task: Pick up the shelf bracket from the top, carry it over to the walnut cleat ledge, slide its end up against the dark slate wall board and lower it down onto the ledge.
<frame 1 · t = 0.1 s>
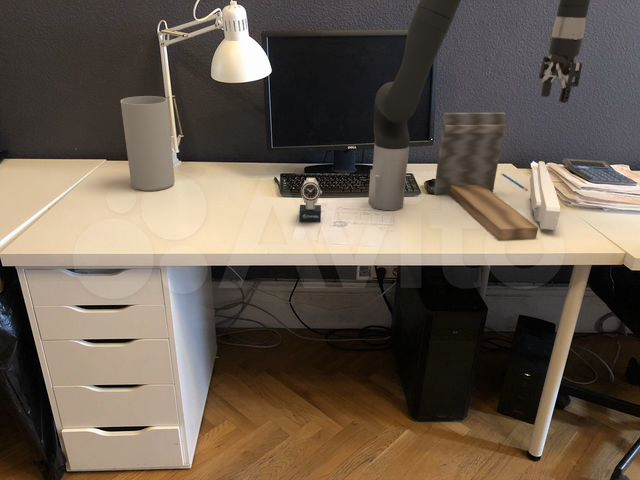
hand: (553, 99, 146), 29 cm above the table, tool pointing down, fingers open, 8 cm apart
pencil: (512, 183, 173), on the table
cylinder vase: (153, 185, 161), on the table
cleat wall board: (488, 214, 147), on the table
watch: (310, 219, 141), on the table
shelf bracket: (538, 216, 147), on the table
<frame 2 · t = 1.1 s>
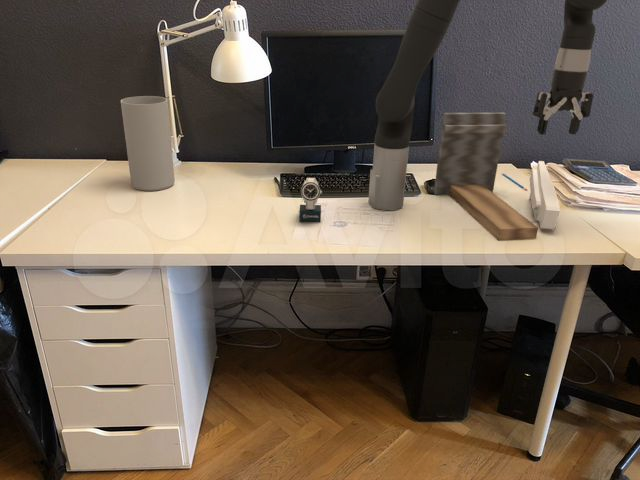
hand: (557, 133, 137), 23 cm above the table, tool pointing down, fingers open, 8 cm apart
nothing on the table moved.
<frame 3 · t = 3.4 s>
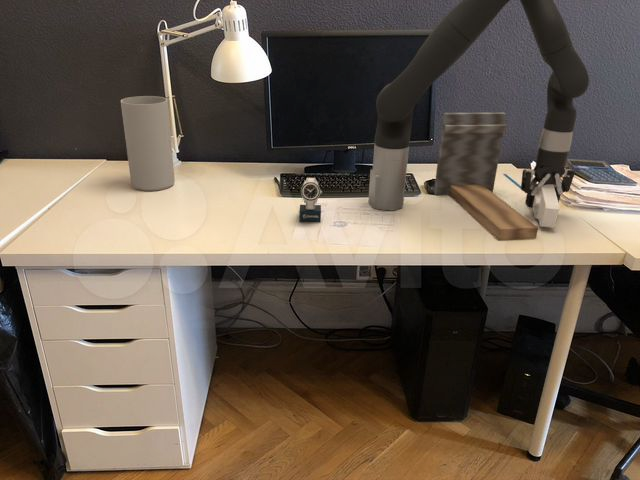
hand: (541, 206, 146), 3 cm above the table, tool pointing down, fingers closed on shelf bracket, 6 cm apart
shelf bracket: (538, 214, 149), on the table, touching gripper
everything else where it was.
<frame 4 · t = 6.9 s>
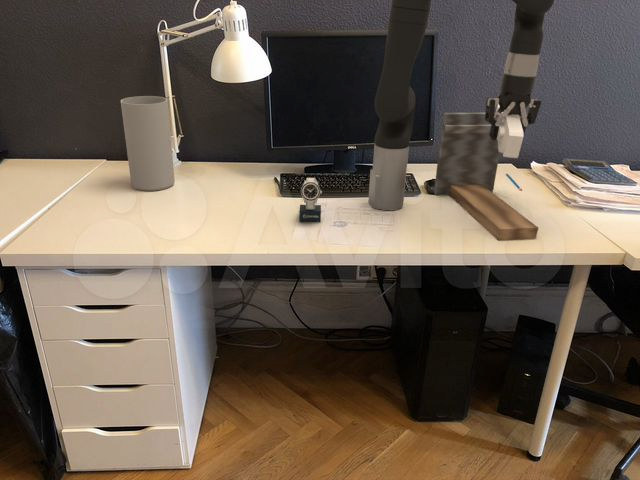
hand: (505, 139, 138), 21 cm above the table, tool pointing down, fingers closed on shelf bracket, 6 cm apart
shelf bracket: (503, 149, 141), point 18 cm above the table, touching gripper
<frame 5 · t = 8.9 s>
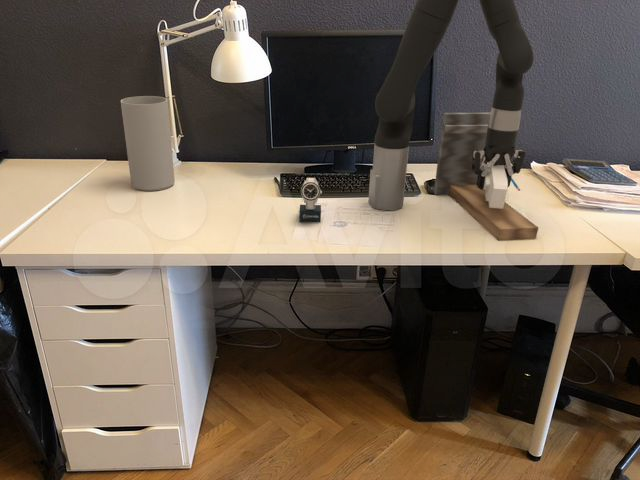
hand: (492, 188, 143), 8 cm above the table, tool pointing down, fingers closed on shelf bracket, 6 cm apart
shelf bracket: (490, 196, 146), point 5 cm above the table, touching gripper
when the fingers open (7 cm above the table, at t = 10.2 s): shelf bracket drops 1 cm, resting on cleat wall board.
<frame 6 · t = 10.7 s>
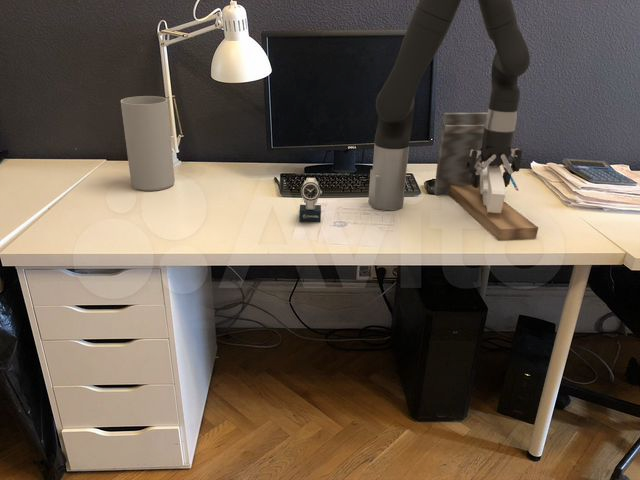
hand: (489, 186, 145), 7 cm above the table, tool pointing down, fingers open, 8 cm apart
shelf bracket: (487, 201, 148), point 3 cm above the table, touching cleat wall board
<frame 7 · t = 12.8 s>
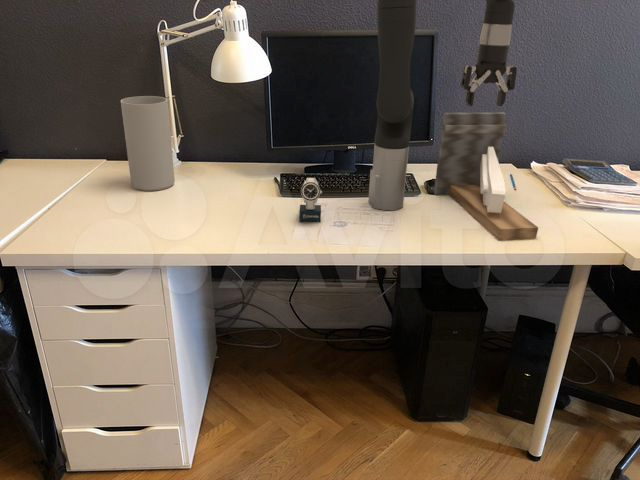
hand: (484, 105, 146), 27 cm above the table, tool pointing down, fingers open, 8 cm apart
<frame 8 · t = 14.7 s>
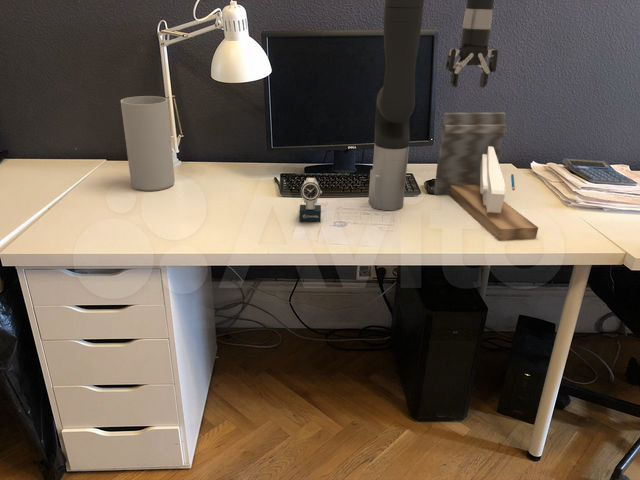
hand: (468, 86, 155), 30 cm above the table, tool pointing down, fingers open, 8 cm apart
at the end: shelf bracket inside the target area (1.4 cm from its centre), point 2.8 cm above the table; shelf bracket tilted 0°; the gripper is holding nothing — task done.
